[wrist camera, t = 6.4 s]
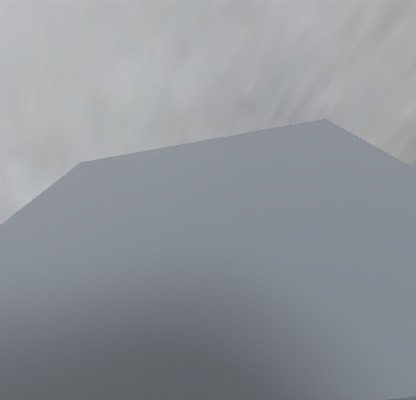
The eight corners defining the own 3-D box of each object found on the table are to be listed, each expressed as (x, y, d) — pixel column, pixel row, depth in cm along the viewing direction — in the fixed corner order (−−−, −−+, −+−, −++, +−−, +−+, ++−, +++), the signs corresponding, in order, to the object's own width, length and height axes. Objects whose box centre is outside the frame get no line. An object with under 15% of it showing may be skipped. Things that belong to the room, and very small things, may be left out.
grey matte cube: (325, 119, 10) (759, 359, 2) (335, 319, 13) (533, 747, 5) (80, 162, 11) (-319, 473, 3) (141, 343, 14) (36, 756, 6)
